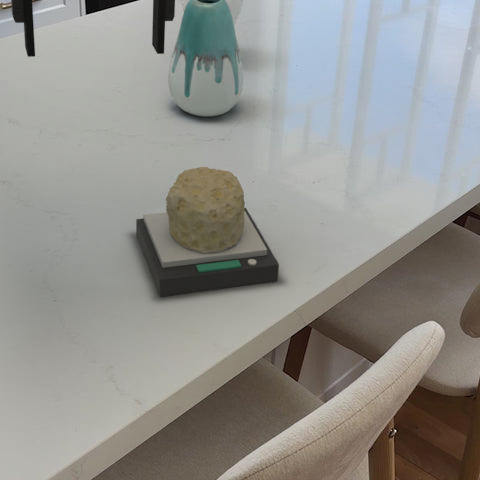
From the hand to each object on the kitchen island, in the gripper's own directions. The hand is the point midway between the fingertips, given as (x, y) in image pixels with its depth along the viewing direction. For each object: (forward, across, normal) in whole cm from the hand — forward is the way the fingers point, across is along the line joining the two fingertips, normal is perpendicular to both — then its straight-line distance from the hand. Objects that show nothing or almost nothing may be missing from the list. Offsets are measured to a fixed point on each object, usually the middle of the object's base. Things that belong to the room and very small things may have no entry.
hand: (95, 50), depth 95 cm
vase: (+24, +22, +34) cm, 47 cm away
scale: (+23, +12, -7) cm, 27 cm away
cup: (+24, +28, +53) cm, 64 cm away
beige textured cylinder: (+20, +12, -7) cm, 24 cm away
